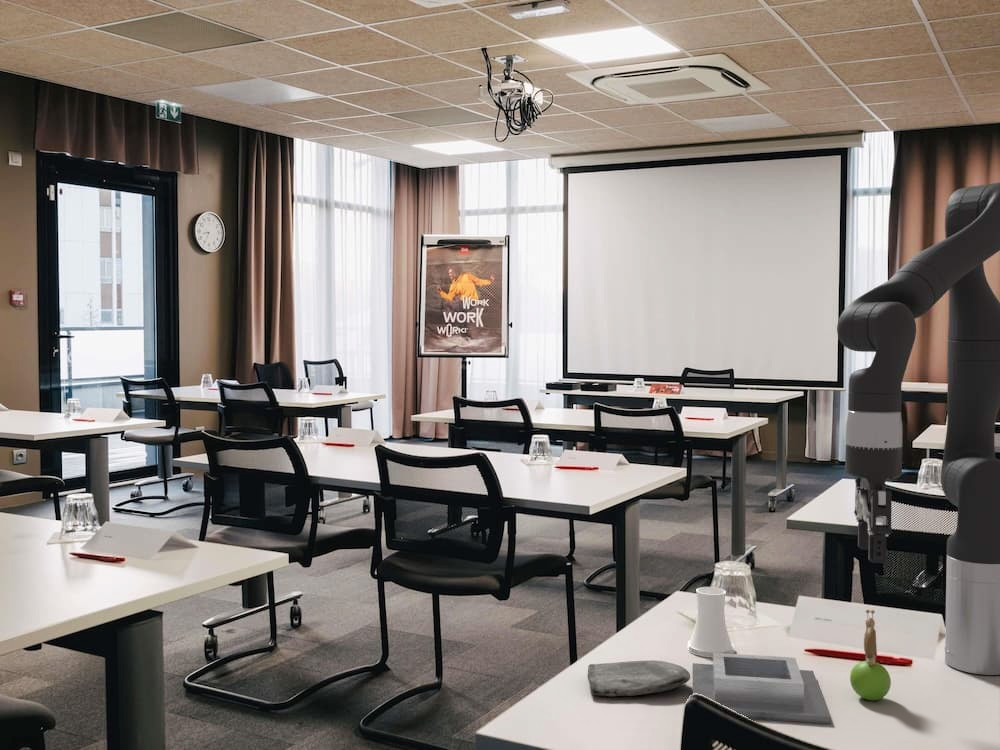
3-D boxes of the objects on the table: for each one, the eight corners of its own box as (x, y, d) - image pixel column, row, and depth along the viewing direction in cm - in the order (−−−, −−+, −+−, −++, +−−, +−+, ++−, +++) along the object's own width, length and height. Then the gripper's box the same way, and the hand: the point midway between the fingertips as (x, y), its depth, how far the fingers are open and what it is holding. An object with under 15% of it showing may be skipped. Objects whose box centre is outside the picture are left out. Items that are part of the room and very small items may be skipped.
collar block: (812, 677, 146) (813, 651, 146) (830, 724, 128) (830, 694, 128) (692, 669, 149) (692, 644, 149) (693, 714, 132) (693, 685, 131)
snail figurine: (888, 692, 140) (890, 610, 139) (891, 708, 134) (892, 623, 133) (849, 687, 141) (850, 607, 141) (850, 703, 135) (851, 619, 135)
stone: (687, 675, 146) (590, 687, 147) (683, 648, 147) (586, 661, 148) (696, 694, 136) (591, 707, 137) (691, 665, 136) (587, 679, 137)
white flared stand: (732, 644, 161) (732, 585, 161) (735, 659, 154) (735, 597, 154) (687, 641, 163) (687, 583, 162) (687, 656, 155) (688, 595, 155)
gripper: (913, 449, 128) (910, 569, 129) (891, 438, 142) (889, 546, 143) (854, 447, 130) (852, 566, 130) (838, 436, 144) (836, 543, 144)
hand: (871, 555), depth 137 cm, fingers open, 8 cm apart
